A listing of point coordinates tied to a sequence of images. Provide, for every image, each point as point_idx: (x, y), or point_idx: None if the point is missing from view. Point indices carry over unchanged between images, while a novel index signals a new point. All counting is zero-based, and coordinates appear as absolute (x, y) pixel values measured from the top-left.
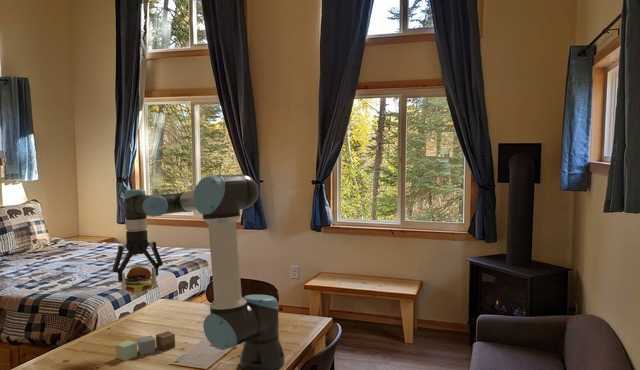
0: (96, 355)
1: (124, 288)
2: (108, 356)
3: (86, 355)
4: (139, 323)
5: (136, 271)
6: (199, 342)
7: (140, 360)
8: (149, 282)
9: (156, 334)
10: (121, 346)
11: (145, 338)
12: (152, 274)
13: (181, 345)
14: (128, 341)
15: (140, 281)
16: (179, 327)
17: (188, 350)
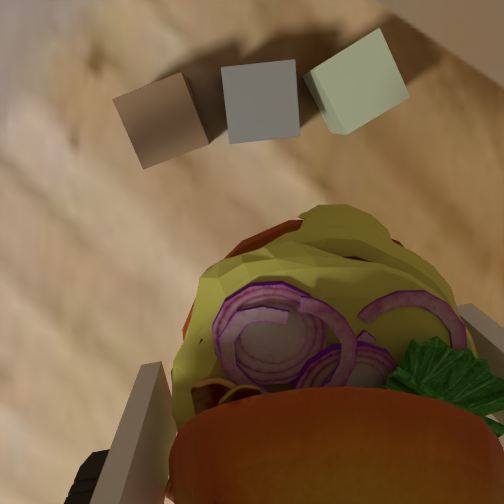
0: (453, 176)
1: (470, 314)
2: (412, 138)
3: (487, 197)
4: None
5: (418, 422)
6: (11, 102)
7: (296, 6)
8: (215, 272)
9: (205, 144)
10: (389, 52)
11: (264, 111)
12: (154, 488)
13: (99, 107)
14: (348, 110)
15: (332, 274)
16: (91, 347)
17: (71, 17)
